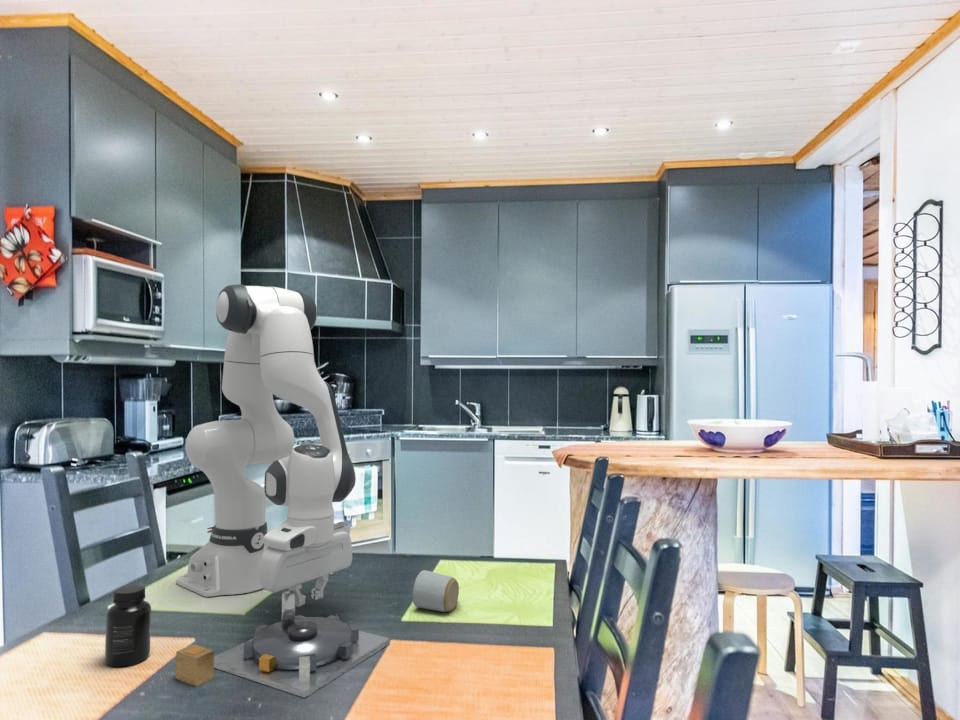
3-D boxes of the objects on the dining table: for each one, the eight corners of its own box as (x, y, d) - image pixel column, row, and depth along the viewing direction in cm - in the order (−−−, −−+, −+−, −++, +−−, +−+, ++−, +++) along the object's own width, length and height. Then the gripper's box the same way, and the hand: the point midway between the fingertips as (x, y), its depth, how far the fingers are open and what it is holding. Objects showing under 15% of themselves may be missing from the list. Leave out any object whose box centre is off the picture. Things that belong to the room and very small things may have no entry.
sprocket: (217, 660, 103) (218, 615, 104) (293, 618, 122) (294, 580, 122) (313, 682, 96) (314, 634, 96) (379, 634, 114) (379, 594, 115)
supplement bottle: (159, 654, 108) (161, 585, 109) (125, 671, 102) (127, 598, 102) (129, 648, 111) (131, 580, 111) (94, 664, 104) (97, 593, 104)
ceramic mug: (446, 618, 126) (447, 580, 126) (411, 612, 129) (412, 575, 129) (466, 602, 136) (466, 566, 136) (432, 596, 139) (433, 562, 139)
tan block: (175, 679, 99) (176, 650, 100) (192, 671, 102) (193, 643, 102) (196, 687, 97) (197, 657, 97) (213, 678, 100) (214, 649, 100)
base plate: (207, 665, 104) (207, 641, 104) (300, 621, 124) (301, 601, 124) (304, 697, 94) (305, 671, 94) (389, 643, 113) (390, 622, 114)
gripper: (338, 517, 129) (336, 583, 129) (255, 538, 112) (253, 614, 112) (360, 521, 126) (358, 589, 125) (278, 544, 109) (276, 622, 108)
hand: (308, 601), depth 118 cm, fingers open, 3 cm apart
